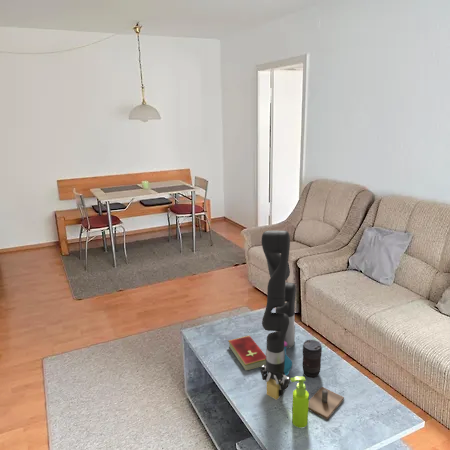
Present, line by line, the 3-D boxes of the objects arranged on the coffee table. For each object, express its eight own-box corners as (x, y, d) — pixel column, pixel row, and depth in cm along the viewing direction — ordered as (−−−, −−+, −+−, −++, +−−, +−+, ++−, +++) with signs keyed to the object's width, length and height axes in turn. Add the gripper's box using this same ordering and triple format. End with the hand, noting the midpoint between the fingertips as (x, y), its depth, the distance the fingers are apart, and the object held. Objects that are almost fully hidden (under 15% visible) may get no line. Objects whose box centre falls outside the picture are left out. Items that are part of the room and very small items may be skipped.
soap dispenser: (287, 417, 157) (288, 373, 151) (305, 415, 158) (307, 372, 152) (291, 428, 151) (292, 384, 145) (309, 427, 152) (311, 382, 146)
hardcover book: (250, 341, 207) (250, 334, 206) (269, 365, 188) (269, 357, 187) (228, 347, 203) (228, 340, 202) (245, 372, 184) (245, 364, 183)
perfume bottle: (279, 380, 177) (279, 351, 173) (267, 368, 185) (267, 340, 181) (296, 373, 181) (297, 344, 177) (284, 362, 189) (284, 334, 185)
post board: (321, 388, 172) (322, 377, 170) (343, 399, 165) (344, 388, 163) (304, 407, 162) (304, 395, 160) (327, 419, 155) (328, 407, 154)
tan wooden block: (273, 388, 173) (273, 376, 171) (283, 393, 170) (283, 381, 168) (266, 394, 169) (266, 382, 168) (276, 399, 166) (276, 387, 164)
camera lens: (298, 374, 181) (299, 345, 177) (308, 365, 187) (309, 337, 182) (314, 382, 176) (315, 352, 171) (323, 372, 181) (325, 343, 177)
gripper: (295, 360, 162) (294, 395, 167) (266, 346, 171) (266, 380, 177) (285, 369, 157) (284, 405, 162) (255, 355, 166) (255, 389, 171)
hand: (274, 392), depth 169 cm, fingers closed on tan wooden block, 5 cm apart
